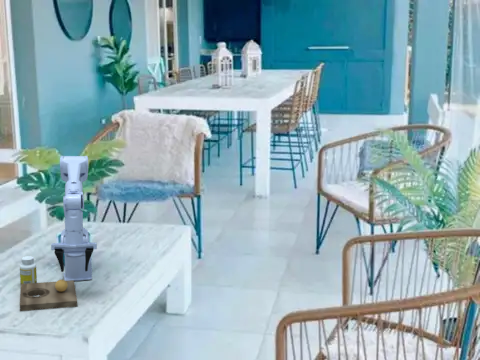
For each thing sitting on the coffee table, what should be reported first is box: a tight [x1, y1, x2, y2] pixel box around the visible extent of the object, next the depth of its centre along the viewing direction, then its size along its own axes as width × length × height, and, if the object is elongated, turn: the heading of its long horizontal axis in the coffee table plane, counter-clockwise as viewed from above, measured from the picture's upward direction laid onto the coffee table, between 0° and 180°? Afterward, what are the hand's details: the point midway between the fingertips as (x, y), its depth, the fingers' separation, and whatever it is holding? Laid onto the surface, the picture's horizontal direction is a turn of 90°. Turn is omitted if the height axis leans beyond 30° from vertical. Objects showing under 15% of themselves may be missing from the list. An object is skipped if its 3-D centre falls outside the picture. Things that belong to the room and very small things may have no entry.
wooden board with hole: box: [19, 280, 78, 312], centre depth 216 cm, size 18×18×2 cm
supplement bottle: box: [19, 255, 38, 285], centre depth 226 cm, size 5×5×10 cm
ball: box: [55, 279, 68, 292], centre depth 217 cm, size 4×4×4 cm
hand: (74, 271), depth 216 cm, fingers open, 7 cm apart
